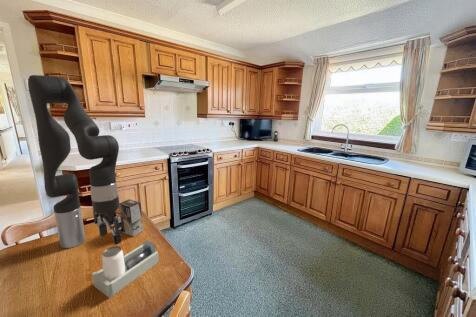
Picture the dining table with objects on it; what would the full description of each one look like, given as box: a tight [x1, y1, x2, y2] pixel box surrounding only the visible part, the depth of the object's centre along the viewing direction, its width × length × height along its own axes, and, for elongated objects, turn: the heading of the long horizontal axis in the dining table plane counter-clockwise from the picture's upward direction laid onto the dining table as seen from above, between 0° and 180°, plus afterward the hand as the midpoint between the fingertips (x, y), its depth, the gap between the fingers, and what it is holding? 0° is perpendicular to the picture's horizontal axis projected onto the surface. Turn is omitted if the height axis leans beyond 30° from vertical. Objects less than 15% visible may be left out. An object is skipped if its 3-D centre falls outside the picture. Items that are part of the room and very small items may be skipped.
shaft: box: [125, 240, 156, 270], centre depth 82 cm, size 5×10×6 cm, turn 150°
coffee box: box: [118, 199, 144, 237], centre depth 104 cm, size 9×6×16 cm
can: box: [101, 245, 125, 282], centre depth 73 cm, size 6×6×12 cm
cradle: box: [91, 244, 160, 299], centre depth 78 cm, size 10×20×5 cm, turn 150°
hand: (110, 239), depth 71 cm, fingers open, 8 cm apart
